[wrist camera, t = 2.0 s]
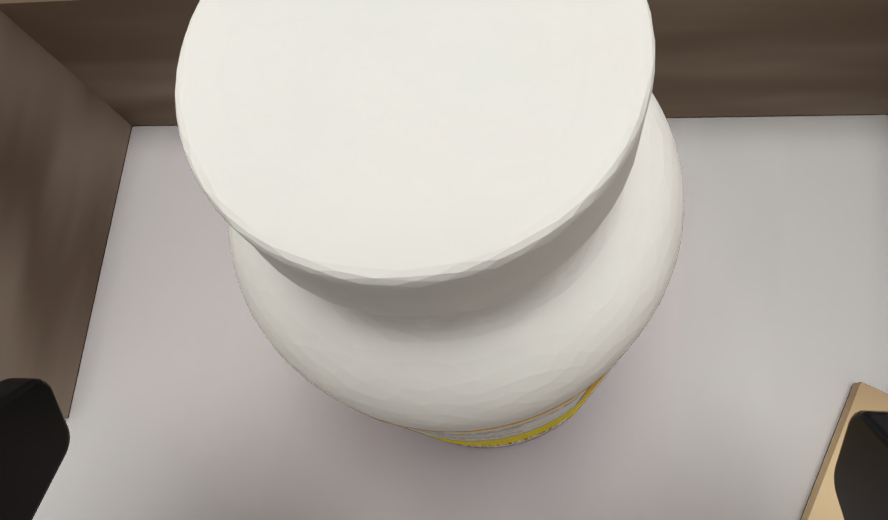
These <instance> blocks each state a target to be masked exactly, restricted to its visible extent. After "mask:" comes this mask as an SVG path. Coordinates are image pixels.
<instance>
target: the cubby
mask: <svg viewBox="0 0 888 520" xmlns="http://www.w3.org/2000/svg"><path fill="white" fill-rule="evenodd" d="M199 1H200V0H0V381H2V380H5V379H9V378H38V379H42V380H45V381H46V382H47V383H48V384H49V385H50V386H51V387H52V389H53V392H54V394H55V396H56V399H57V401H58V404H59V406H60V409H61V411H62V414H63V416H64V418H68V415H69V410H70V405H71V401H72V396H73V392H74V387H75V383H76V378H77V373H78V369H79V364H80V360H81V355H82V351H83V346H84V341H85V337H86V332H87V328H88V323H89V319H90V314H91V309H92V305H93V300H94V296H95V291H96V287H97V282H98V277H99V273H100V268H101V264H102V259H103V255H104V250H105V245H106V241H107V236H108V232H109V227H110V223H111V218H112V214H113V209H114V204H115V200H116V195H117V191H118V186H119V182H120V177H121V172H122V168H123V163H124V159H125V154H126V150H127V145H128V140H129V136H130V131H131V127H132V126H145V125H178V124H177V118H176V105H175V86H176V72H177V66H178V61H179V56H180V51H181V47H182V44H183V40H184V37H185V34H186V31H187V29H188V26H189V23H190V20H191V18H192V15H193V13H194V11H195V9H196V7H197V5H198V3H199ZM647 2H648V5H649V8H650V12H651V17H652V25H653V32H654V37H655V75H654V82H653V89H652V93H653V95H654V96H655V98H656V100H657V102H658V104H659V105H660V107H661V109H662V111H663V113H664V115H665V117H730V116H796V115H861V114H888V0H647Z"/></svg>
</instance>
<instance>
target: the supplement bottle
mask: <svg viewBox="0 0 888 520" xmlns="http://www.w3.org/2000/svg"><path fill="white" fill-rule="evenodd" d="M654 75H655V37H654V32H653V25H652V17H651V12H650V8H649V5H648V2H647V0H200V1H199V3H198V5H197V7H196V9H195V11H194V13H193V15H192V18H191V20H190V23H189V26H188V29H187V31H186V34H185V37H184V40H183V44H182V47H181V51H180V56H179V61H178V66H177V72H176V86H175V105H176V118H177V124H178V129H179V135H180V139H181V142H182V144H183V147H184V150H185V154H186V158H187V160H188V162H189V164H190V167H191V169H192V171H193V173H194V176H195V178H196V180H197V182H198V184H199V185H200V187H201V188H202V190H203V191H204V193H205V194H206V196H207V197H208V199H209V200H210V202H211V203H212V205H213V206H214V208H215V209H216V210H217V211H218V212H219V213H220V215H221V216H222V217H223V218H224V219H225V220H226V221H227V222H228V227H229V242H230V249H231V255H232V260H233V265H234V268H235V272H236V275H237V279H238V282H239V285H240V288H241V291H242V293H243V296H244V298H245V301H246V303H247V305H248V307H249V309H250V311H251V313H252V315H253V317H254V319H255V320H256V322H257V324H258V325H259V327H260V328H261V330H262V331H263V333H264V334H265V336H266V337H267V338H268V340H269V341H270V343H271V344H272V345H273V347H274V348H275V349H276V350H277V352H278V353H279V354H280V355H281V356H282V357H283V358H284V359H285V361H286V362H287V363H289V364H290V365H291V366H292V367H293V368H294V369H295V370H296V371H297V372H299V373H300V374H301V375H302V376H303V377H305V378H306V379H307V380H308V381H310V382H311V383H312V384H313V385H315V386H316V387H318V388H319V389H320V390H322V391H323V392H325V393H326V394H328V395H329V396H331V397H333V398H334V399H336V400H338V401H340V402H341V403H343V404H345V405H347V406H349V407H351V408H353V409H355V410H358V411H360V412H362V413H364V414H366V415H369V416H371V417H373V418H375V419H378V420H381V421H384V422H387V423H390V424H394V425H397V426H400V427H403V428H407V429H410V430H413V431H416V432H418V433H421V434H424V435H427V436H430V437H433V438H436V439H439V440H443V441H446V442H450V443H454V444H457V445H463V446H469V447H482V448H489V447H503V446H510V445H515V444H519V443H522V442H526V441H529V440H531V439H534V438H537V437H539V436H541V435H543V434H545V433H547V432H549V431H551V430H553V429H554V428H556V427H557V426H559V425H560V424H562V423H563V422H564V421H566V420H567V419H569V418H570V417H571V416H572V415H573V414H574V413H575V412H576V411H577V410H578V409H579V408H580V407H581V406H582V404H583V403H584V402H585V401H586V400H587V398H588V397H589V396H590V395H591V393H592V392H593V391H594V390H595V389H596V387H597V386H598V385H599V384H600V382H601V381H602V380H603V379H604V377H605V376H606V375H607V374H608V372H609V371H610V370H611V369H612V367H613V366H614V365H615V364H616V362H617V361H618V360H619V359H620V358H621V356H622V355H623V354H624V353H625V352H626V351H627V350H628V348H629V347H630V346H631V345H632V343H633V342H634V341H635V340H636V338H637V337H638V336H639V335H640V333H641V332H642V330H643V329H644V327H645V326H646V324H647V323H648V321H649V320H650V319H651V317H652V316H653V314H654V312H655V311H656V309H657V307H658V305H659V304H660V302H661V299H662V297H663V295H664V293H665V291H666V288H667V286H668V284H669V281H670V278H671V275H672V272H673V269H674V266H675V264H676V261H677V256H678V252H679V248H680V244H681V237H682V229H683V219H684V189H683V179H682V171H681V164H680V160H679V155H678V152H677V148H676V145H675V141H674V137H673V135H672V132H671V129H670V127H669V125H668V122H667V120H666V118H665V115H664V113H663V111H662V109H661V107H660V105H659V104H658V102H657V100H656V98H655V96H654V95H653V93H652V89H653V82H654Z"/></svg>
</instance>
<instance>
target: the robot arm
mask: <svg viewBox="0 0 888 520" xmlns="http://www.w3.org/2000/svg"><path fill="white" fill-rule="evenodd" d="M69 442H70V433H69V429H68V426H67V423H66V421H65V419H64V416H63V414H62V411H61V409H60V406H59V404H58V401H57V399H56V396H55V394H54V392H53V389H52V387H51V386H50V385H49V384H48V383H47V382H46V381H45V380H42V379H38V378H9V379H5V380H2V381H0V520H32V519H33V517H34V515H35V513H36V511H37V509H38V507H39V505H40V503H41V501H42V499H43V497H44V495H45V494H46V492H47V490H48V488H49V486H50V484H51V482H52V480H53V478H54V476H55V474H56V472H57V470H58V468H59V466H60V464H61V462H62V460H63V459H64V457H65V455H66V452H67V450H68V447H69ZM834 486H835V491H836V495H837V498H838V502H839V505H840V508H841V511H842V514H843V518H844V520H888V411H873V410H861V411H858V412H856V413H854V414H853V416H852V417H851V418H850V421H849V423H848V426H847V429H846V433H845V436H844V439H843V442H842V446H841V449H840V452H839V456H838V459H837V462H836V465H835V470H834Z"/></svg>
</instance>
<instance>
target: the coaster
mask: <svg viewBox="0 0 888 520" xmlns="http://www.w3.org/2000/svg"><path fill="white" fill-rule="evenodd" d="M861 410H873V411H888V394H886V393H884V392H882V391H880V390H878V389H875V388H873V387H871V386H869V385H867V384H865V383H862V382H859V383H855V384H853V386H852V389H851V391H850V394H849V397H848V399H847V402H846V404H845V407H844V409H843V412H842V415H841V417H840V420H839V422H838V425H837V428H836V430H835V433H834V435H833V438H832V440H831V443H830V446H829V448H828V451H827V453H826V456H825V459H824V461H823V464H822V466H821V469H820V471H819V474H818V477H817V479H816V482H815V484H814V487H813V490H812V492H811V495H810V497H809V500H808V502H807V505H806V508H805V510H804V513H803V515H802V518H801V520H844V518H843V514H842V511H841V508H840V505H839V502H838V498H837V495H836V491H835V486H834V470H835V465H836V462H837V459H838V456H839V452H840V449H841V446H842V442H843V439H844V436H845V433H846V429H847V426H848V423H849V421H850V418H851V417H852V416H853V414H854V413H856V412H858V411H861Z"/></svg>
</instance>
